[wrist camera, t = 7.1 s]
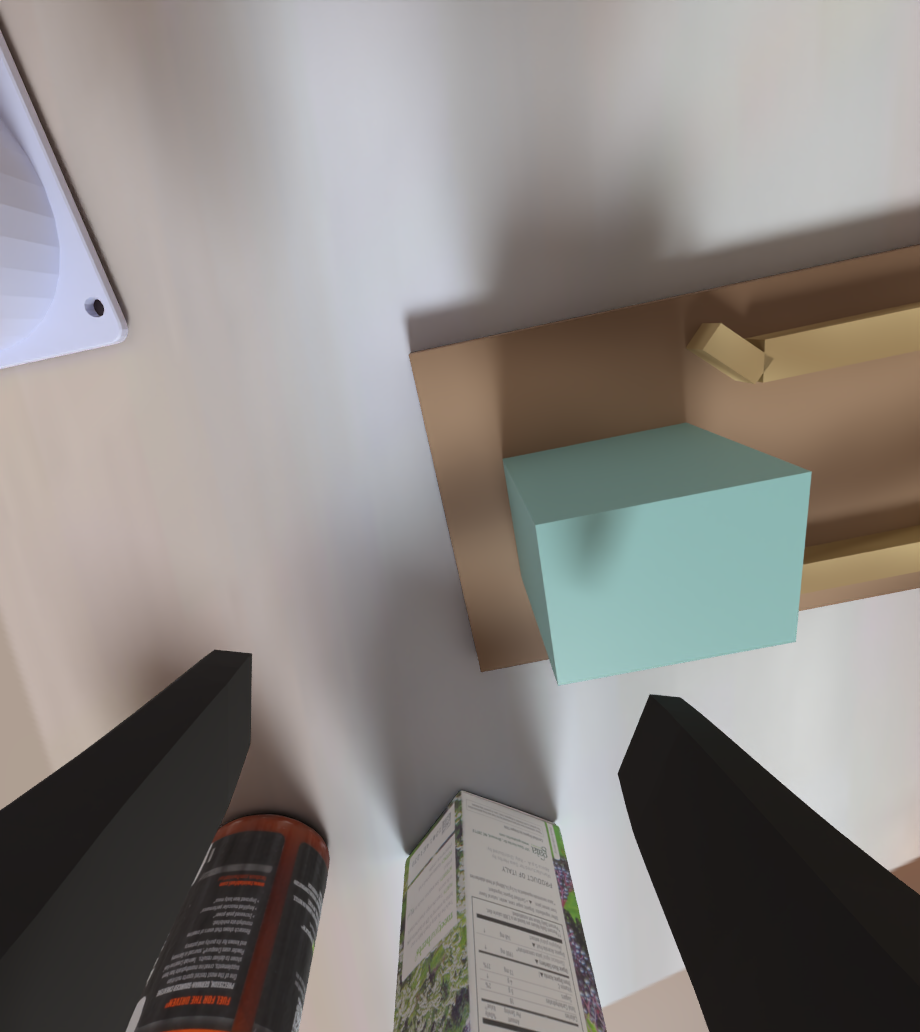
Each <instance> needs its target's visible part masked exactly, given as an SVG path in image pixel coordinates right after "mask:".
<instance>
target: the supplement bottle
mask: <svg viewBox="0 0 920 1032" xmlns="http://www.w3.org/2000/svg"><path fill="white" fill-rule="evenodd" d="M329 860H330V859H329V851H328V848H327V846H326V844H325V842H324V840H323V839H322V837H321V836H320V835H319V834H318V833H317V832H316V831H314V830H313V829H312V828H310V827H309V826H307V825H305V824H304V823H302V822H300V821H298V820H295V819H292V818H288V817H286V816H282V815H275V814H268V815H266V814H263V815H252V816H245V817H242V818H238V819H236V820H233V821H231V822H229V823H227V824H225V825H223V826H222V827H221V828H220V829H218V830H217V833H216V835H215V837H214V839H213V841H212V843H211V845H210V848H209V850H208V852H207V854H206V856H205V858H204V861H203V863H202V865H201V867H200V869H199V871H198V873H197V875H196V878H195V880H194V882H193V884H192V886H191V888H190V890H189V892H188V895H187V897H186V899H185V901H184V903H183V905H182V907H181V909H180V912H179V914H178V916H177V918H176V920H175V922H174V924H173V926H172V929H171V931H170V933H169V935H168V937H167V939H166V941H165V944H164V946H163V948H162V950H161V952H160V954H159V956H158V958H157V961H156V963H155V965H154V967H153V969H152V971H151V973H150V976H149V978H148V980H147V982H146V985H145V987H144V989H143V992H142V994H141V996H140V999H139V1001H138V1003H137V1006H136V1008H135V1010H134V1012H133V1015H132V1017H131V1019H130V1022H129V1024H128V1027H127V1030H126V1032H298V1031H299V1025H300V1020H301V1014H302V1009H303V1005H304V999H305V993H306V988H307V983H308V978H309V972H310V966H311V962H312V957H313V951H314V947H315V940H316V936H317V931H318V925H319V920H320V914H321V909H322V903H323V898H324V893H325V888H326V882H327V876H328V869H329Z"/></svg>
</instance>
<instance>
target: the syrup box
mask: <svg viewBox="0 0 920 1032" xmlns="http://www.w3.org/2000/svg"><path fill="white" fill-rule="evenodd" d="M393 1032H607V1031H606V1027H605V1022H604V1018H603V1013H602V1009H601V1005H600V1000H599V996H598V992H597V988H596V984H595V979H594V974H593V970H592V966H591V962H590V958H589V954H588V950H587V945H586V941H585V937H584V932H583V928H582V923H581V919H580V914H579V909H578V905H577V901H576V897H575V893H574V888H573V884H572V879H571V876H570V871H569V867H568V862H567V858H566V854H565V850H564V845H563V840H562V836H561V832H560V828H559V827H558V826H556V824H555V823H553V822H550V821H547V820H544V819H542V818H539V817H536V816H533V815H531V814H528V813H525V812H523V811H520V810H517V809H515V808H512V807H509V806H506V805H503V804H501V803H498V802H495V801H492V800H489V799H486V798H483V797H480V796H477V795H474V794H471V793H468V792H466V791H463V790H462V791H459V793H458V794H457V795H456V796H455V798H454V799H453V800H452V801H451V802H450V804H449V805H448V807H447V808H446V809H445V811H444V812H443V813H442V814H441V816H440V817H439V818H438V820H437V821H436V822H435V824H434V825H433V826H432V827H431V829H430V830H429V831H428V833H427V834H426V835H425V836H424V838H423V839H422V840H421V841H420V843H419V844H418V845H417V847H416V848H415V849H414V850H413V851H412V853H411V854H410V855H409V857H408V858H407V860H406V864H405V875H404V890H403V903H402V917H401V930H400V945H399V963H398V974H397V989H396V1000H395V1015H394V1030H393Z"/></svg>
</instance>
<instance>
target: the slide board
mask: <svg viewBox="0 0 920 1032" xmlns="http://www.w3.org/2000/svg"><path fill="white" fill-rule="evenodd" d="M409 358H410V362H411V366H412V371H413V375H414V380H415V384H416V388H417V393H418V397H419V402H420V406H421V410H422V415H423V419H424V424H425V428H426V432H427V437H428V441H429V446H430V450H431V454H432V459H433V463H434V468H435V472H436V476H437V481H438V485H439V490H440V494H441V498H442V503H443V507H444V511H445V516H446V520H447V525H448V529H449V533H450V538H451V542H452V547H453V551H454V555H455V560H456V564H457V569H458V573H459V577H460V582H461V586H462V591H463V595H464V599H465V604H466V608H467V613H468V617H469V621H470V626H471V630H472V635H473V639H474V643H475V648H476V652H477V657H478V661H479V665H480V670H481V672H485V671H490V670H495V669H501V668H506V667H511V666H516V665H521V664H526V663H532V662H537V661H542V660H547V659H549V657H548V654H547V651H546V648H545V645H544V642H543V639H542V636H541V634H540V631H539V628H538V625H537V622H536V619H535V616H534V613H533V610H532V607H531V604H530V601H529V598H528V595H527V592H526V589H525V586H524V584H523V581H522V577H521V571H520V565H519V558H518V552H517V546H516V540H515V534H514V528H513V521H512V515H511V509H510V503H509V497H508V491H507V484H506V478H505V472H504V466H503V460H502V459H505V458H510V457H515V456H520V455H525V454H530V453H535V452H540V451H545V450H550V449H555V448H560V447H565V446H570V445H575V444H580V443H585V442H590V441H596V440H601V439H606V438H611V437H616V436H621V435H626V434H631V433H636V432H641V431H646V430H651V429H656V428H661V427H666V426H671V425H676V424H681V423H689V424H691V425H694V426H697V427H699V428H702V429H704V430H707V431H709V432H712V433H714V434H717V435H720V436H722V437H725V438H727V439H730V440H732V441H735V442H737V443H740V444H743V445H745V446H748V447H750V448H753V449H755V450H758V451H760V452H763V453H766V454H768V455H771V456H773V457H776V458H778V459H781V460H783V461H786V462H789V463H791V464H794V465H796V466H799V467H801V468H804V469H806V470H809V471H812V473H811V484H810V495H809V505H808V516H807V527H806V537H805V548H804V559H803V569H802V580H801V590H800V601H799V611H802V610H807V609H812V608H817V607H822V606H827V605H833V604H838V603H843V602H848V601H853V600H859V599H864V598H869V597H874V596H879V595H885V594H890V593H895V592H900V591H905V590H911V589H916V588H920V244H918V245H913V246H909V247H904V248H899V249H895V250H890V251H885V252H881V253H876V254H871V255H867V256H862V257H857V258H852V259H848V260H843V261H838V262H834V263H829V264H824V265H820V266H815V267H810V268H806V269H801V270H796V271H792V272H787V273H782V274H778V275H773V276H768V277H763V278H759V279H754V280H749V281H745V282H740V283H735V284H731V285H726V286H721V287H717V288H712V289H707V290H703V291H698V292H693V293H689V294H684V295H679V296H675V297H670V298H665V299H660V300H656V301H651V302H646V303H642V304H637V305H632V306H628V307H623V308H618V309H614V310H609V311H604V312H600V313H595V314H590V315H586V316H581V317H576V318H571V319H567V320H562V321H557V322H553V323H548V324H543V325H539V326H534V327H529V328H525V329H520V330H515V331H511V332H506V333H501V334H497V335H492V336H487V337H483V338H478V339H473V340H468V341H464V342H459V343H454V344H450V345H445V346H440V347H436V348H431V349H426V350H422V351H417V352H412V353H410V354H409Z"/></svg>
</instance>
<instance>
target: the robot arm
mask: <svg viewBox="0 0 920 1032" xmlns="http://www.w3.org/2000/svg"><path fill="white" fill-rule="evenodd" d="M96 299H98V300H100V301H101V303H102V304H103V306H104V313H103V315H102V316H100V315H98V314H97V312H96V311H95V309H94V302H95V300H96ZM127 334H128V327H127V322H126V320H125V318H124V315H123V313H122V311H121V308H120V306H119V304H118V301H117V299H116V297H115V295H114V292H113V290H112V288H111V285H110V283H109V281H108V278H107V276H106V274H105V271H104V269H103V267H102V264H101V262H100V260H99V257H98V255H97V253H96V250H95V248H94V246H93V244H92V241H91V239H90V237H89V234H88V232H87V230H86V227H85V225H84V223H83V220H82V218H81V216H80V213H79V211H78V209H77V206H76V204H75V202H74V199H73V197H72V195H71V193H70V190H69V188H68V186H67V183H66V181H65V179H64V176H63V174H62V172H61V169H60V167H59V165H58V162H57V160H56V158H55V155H54V153H53V151H52V149H51V146H50V144H49V142H48V139H47V137H46V135H45V132H44V130H43V128H42V125H41V123H40V121H39V118H38V116H37V114H36V111H35V109H34V107H33V104H32V102H31V100H30V98H29V95H28V93H27V91H26V88H25V86H24V84H23V81H22V79H21V77H20V74H19V72H18V70H17V67H16V65H15V63H14V60H13V58H12V56H11V53H10V51H9V49H8V47H7V44H6V42H5V40H4V37H3V35H2V33H1V30H0V369H3V368H8V367H13V366H17V365H22V364H26V363H31V362H35V361H40V360H45V359H49V358H54V357H58V356H63V355H68V354H72V353H77V352H81V351H86V350H90V349H95V348H100V347H104V346H109V345H113V344H118V343H120V342H122V341H124V340H125V338H126V337H127ZM251 677H252V654H251V653H241V652H231V651H221V650H214V651H212V652H211V653H209V654H208V655H207V656H205V657H204V658H203V659H202V660H200V661H199V662H198V663H197V664H195V665H194V666H193V667H192V668H190V669H189V670H188V671H187V672H185V673H184V674H183V675H182V676H180V677H179V678H178V679H177V680H175V681H174V682H173V683H172V684H170V685H169V686H168V687H167V688H165V689H164V690H163V691H162V692H160V693H159V694H158V695H156V696H155V697H154V698H153V699H151V700H150V701H149V702H148V703H146V704H145V705H144V706H143V707H141V708H140V709H139V710H137V711H136V712H135V713H134V714H132V715H131V716H130V717H128V718H127V719H126V720H124V721H123V722H122V723H120V724H119V725H118V726H116V727H115V728H114V729H113V730H111V731H110V732H109V733H107V734H106V735H105V736H103V737H102V738H101V739H99V740H98V741H97V742H95V743H94V744H93V745H91V746H90V747H89V748H87V749H86V750H85V751H83V752H82V753H81V754H79V755H78V756H77V757H75V758H74V759H72V760H71V761H70V762H68V763H67V764H65V765H64V766H63V767H61V768H60V769H58V770H57V771H55V772H54V773H53V774H51V775H50V776H48V777H47V778H46V779H44V780H43V781H41V782H40V783H39V784H37V785H36V786H34V787H33V788H32V789H30V790H29V791H27V792H26V793H24V794H23V795H22V796H20V797H19V798H17V799H16V800H14V801H13V802H12V803H10V804H9V805H7V806H6V807H4V808H3V809H1V810H0V1032H126V1030H127V1027H128V1024H129V1022H130V1019H131V1017H132V1015H133V1012H134V1010H135V1008H136V1006H137V1003H138V1001H139V999H140V996H141V994H142V992H143V989H144V987H145V985H146V982H147V980H148V978H149V976H150V973H151V971H152V969H153V967H154V965H155V963H156V961H157V958H158V956H159V954H160V952H161V950H162V948H163V946H164V944H165V941H166V939H167V937H168V935H169V933H170V931H171V929H172V926H173V924H174V922H175V920H176V918H177V916H178V914H179V912H180V909H181V907H182V905H183V903H184V901H185V899H186V897H187V895H188V892H189V890H190V888H191V886H192V884H193V882H194V880H195V878H196V875H197V873H198V871H199V869H200V867H201V865H202V863H203V861H204V858H205V856H206V854H207V852H208V850H209V848H210V845H211V843H212V841H213V839H214V837H215V835H216V833H217V830H218V828H219V826H220V824H221V822H222V820H223V817H224V815H225V813H226V811H227V809H228V806H229V804H230V801H231V798H232V795H233V793H234V790H235V787H236V784H237V781H238V779H239V776H240V773H241V770H242V767H243V764H244V761H245V758H246V755H247V752H248V749H249V746H250V738H251ZM618 776H619V780H620V784H621V788H622V792H623V797H624V801H625V805H626V808H627V812H628V815H629V819H630V823H631V826H632V830H633V833H634V836H635V839H636V841H637V844H638V847H639V849H640V852H641V855H642V857H643V860H644V862H645V865H646V868H647V870H648V873H649V875H650V878H651V881H652V883H653V886H654V888H655V891H656V893H657V896H658V898H659V901H660V904H661V906H662V909H663V911H664V914H665V916H666V919H667V921H668V924H669V926H670V929H671V931H672V934H673V937H674V939H675V942H676V944H677V947H678V949H679V952H680V954H681V957H682V959H683V962H684V965H685V967H686V970H687V972H688V975H689V977H690V980H691V982H692V985H693V987H694V990H695V993H696V996H697V998H698V1001H699V1004H700V1007H701V1010H702V1012H703V1015H704V1018H705V1021H706V1024H707V1026H708V1029H709V1032H920V895H919V894H918V893H916V892H915V891H914V890H913V889H911V888H910V887H908V886H907V885H906V884H905V883H903V882H902V881H900V880H899V879H898V878H897V877H895V876H894V875H893V874H892V873H890V872H889V871H888V870H887V869H885V868H884V867H883V866H882V865H880V864H879V863H878V862H877V861H875V860H874V859H873V858H872V857H870V856H869V855H868V854H867V853H865V852H864V851H863V850H862V849H860V848H859V847H858V846H857V845H855V844H854V843H853V842H852V841H850V840H849V839H848V838H847V837H845V836H844V835H843V834H842V833H840V832H839V831H838V830H837V829H835V828H834V827H833V826H832V825H831V824H829V823H828V822H827V821H826V820H825V819H823V818H822V817H821V816H820V815H818V814H817V813H816V812H815V811H814V810H812V809H811V808H810V807H809V806H808V805H807V804H805V803H804V802H803V801H802V800H801V799H799V798H798V797H797V796H796V795H795V794H794V793H792V792H791V791H790V790H789V789H788V788H787V787H785V786H784V785H783V784H782V783H781V782H780V781H778V780H777V779H776V778H775V777H774V776H773V775H771V774H770V773H769V772H768V771H767V770H766V769H764V768H763V767H762V766H761V765H760V764H759V763H758V762H756V761H755V760H754V759H753V758H752V757H751V756H750V755H748V754H747V753H746V752H745V751H744V750H743V749H741V748H740V747H739V746H738V745H737V744H736V743H735V742H733V741H732V740H731V739H730V738H729V737H728V736H726V735H725V734H724V733H723V732H722V731H721V730H720V729H718V728H717V727H716V726H715V725H714V724H713V723H711V722H710V721H709V720H708V719H707V718H705V717H704V716H703V715H702V714H701V713H699V712H698V711H697V710H696V709H694V708H693V707H692V706H691V705H689V704H688V703H687V702H686V701H684V700H683V699H682V698H680V697H671V696H661V695H651V694H650V695H649V698H648V700H647V703H646V705H645V708H644V710H643V712H642V715H641V717H640V720H639V722H638V725H637V727H636V730H635V732H634V735H633V737H632V740H631V742H630V745H629V747H628V750H627V752H626V754H625V757H624V759H623V762H622V764H621V767H620V769H619V772H618Z"/></svg>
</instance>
